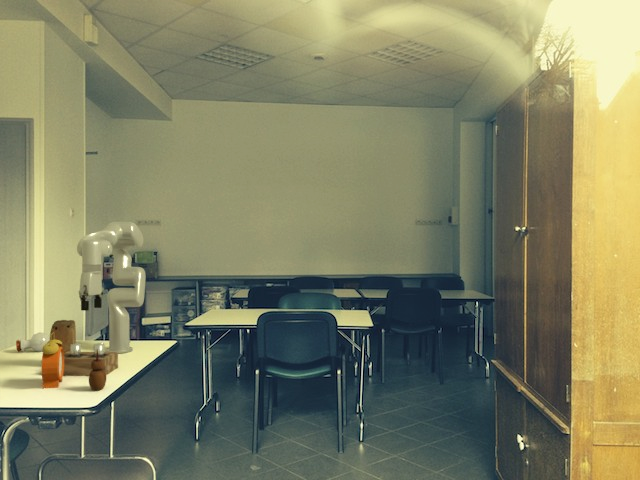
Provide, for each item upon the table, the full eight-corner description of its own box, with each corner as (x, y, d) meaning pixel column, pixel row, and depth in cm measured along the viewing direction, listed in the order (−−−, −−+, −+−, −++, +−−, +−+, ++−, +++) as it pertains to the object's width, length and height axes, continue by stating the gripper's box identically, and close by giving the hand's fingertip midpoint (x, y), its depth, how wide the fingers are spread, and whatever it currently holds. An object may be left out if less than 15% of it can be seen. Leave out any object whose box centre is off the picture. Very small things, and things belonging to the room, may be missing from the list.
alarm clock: (58, 388, 207) (58, 336, 207) (40, 389, 205) (40, 337, 205) (64, 379, 220) (64, 330, 219) (47, 380, 218) (47, 330, 218)
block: (76, 362, 248) (76, 319, 248) (74, 366, 241) (74, 321, 241) (50, 364, 245) (50, 320, 244) (47, 368, 237) (47, 322, 237)
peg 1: (73, 359, 233) (73, 342, 233) (82, 359, 233) (82, 343, 233) (68, 361, 229) (68, 344, 229) (78, 361, 229) (78, 344, 229)
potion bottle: (52, 353, 273) (19, 359, 268) (53, 339, 280) (21, 344, 275) (48, 341, 267) (14, 346, 263) (49, 327, 274) (16, 332, 270)
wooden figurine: (92, 386, 209) (92, 348, 209) (108, 386, 210) (108, 347, 210) (86, 392, 203) (86, 351, 202) (102, 391, 203) (102, 351, 203)
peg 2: (96, 359, 233) (96, 343, 233) (105, 359, 233) (105, 343, 233) (92, 361, 229) (92, 345, 229) (101, 361, 229) (101, 345, 229)
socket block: (68, 367, 240) (68, 351, 240) (117, 367, 239) (117, 351, 239) (52, 375, 226) (52, 358, 226) (105, 375, 225) (104, 358, 225)
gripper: (94, 268, 242) (94, 306, 242) (71, 269, 225) (71, 311, 225) (110, 268, 241) (110, 306, 241) (88, 270, 224) (88, 311, 224)
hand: (91, 309), depth 233 cm, fingers open, 9 cm apart
